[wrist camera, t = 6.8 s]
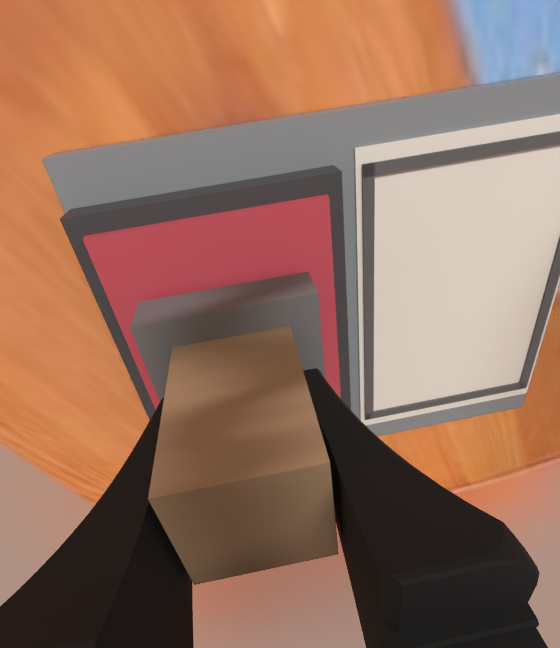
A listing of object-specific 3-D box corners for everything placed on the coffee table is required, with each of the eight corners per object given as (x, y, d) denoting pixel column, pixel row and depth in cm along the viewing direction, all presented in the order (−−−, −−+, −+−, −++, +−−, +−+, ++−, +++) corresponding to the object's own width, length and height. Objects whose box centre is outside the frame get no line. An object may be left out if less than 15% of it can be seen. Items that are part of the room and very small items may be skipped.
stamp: (308, 271, 13) (377, 419, 7) (320, 394, 16) (375, 564, 10) (138, 301, 12) (77, 479, 7) (183, 421, 15) (166, 609, 10)
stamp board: (598, 66, 13) (665, 64, 11) (510, 393, 21) (539, 425, 19) (53, 153, 12) (23, 168, 10) (181, 459, 20) (178, 499, 18)
